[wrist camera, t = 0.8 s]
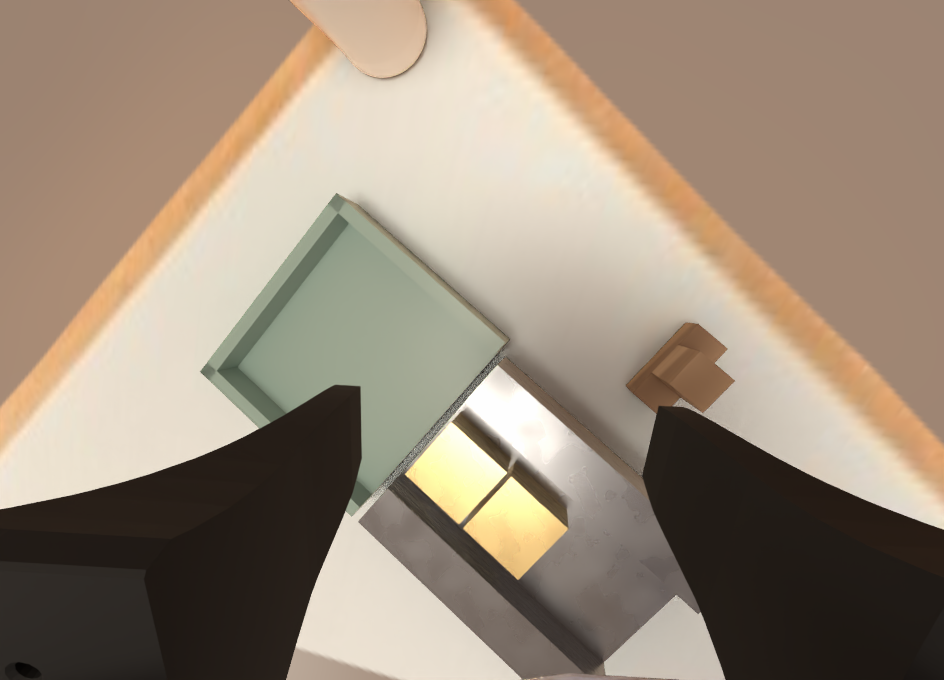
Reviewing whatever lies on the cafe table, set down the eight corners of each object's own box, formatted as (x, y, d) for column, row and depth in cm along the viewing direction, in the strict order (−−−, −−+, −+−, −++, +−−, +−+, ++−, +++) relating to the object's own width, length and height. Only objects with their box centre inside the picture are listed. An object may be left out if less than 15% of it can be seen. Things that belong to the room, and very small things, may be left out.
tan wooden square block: (510, 458, 28) (507, 472, 26) (466, 506, 29) (458, 524, 26) (460, 412, 29) (451, 422, 26) (417, 460, 29) (404, 474, 27)
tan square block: (567, 509, 28) (568, 529, 26) (521, 556, 29) (518, 580, 26) (514, 462, 28) (511, 476, 26) (470, 509, 29) (462, 528, 26)
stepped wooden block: (712, 345, 28) (759, 356, 22) (651, 408, 29) (679, 436, 22) (685, 322, 28) (724, 326, 22) (625, 385, 29) (646, 407, 23)
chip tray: (510, 339, 30) (505, 342, 27) (370, 497, 32) (351, 516, 29) (356, 204, 31) (336, 193, 28) (231, 366, 33) (200, 371, 30)
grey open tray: (708, 536, 29) (736, 578, 24) (570, 667, 31) (573, 727, 26) (505, 356, 30) (497, 364, 26) (385, 492, 32) (358, 521, 27)
